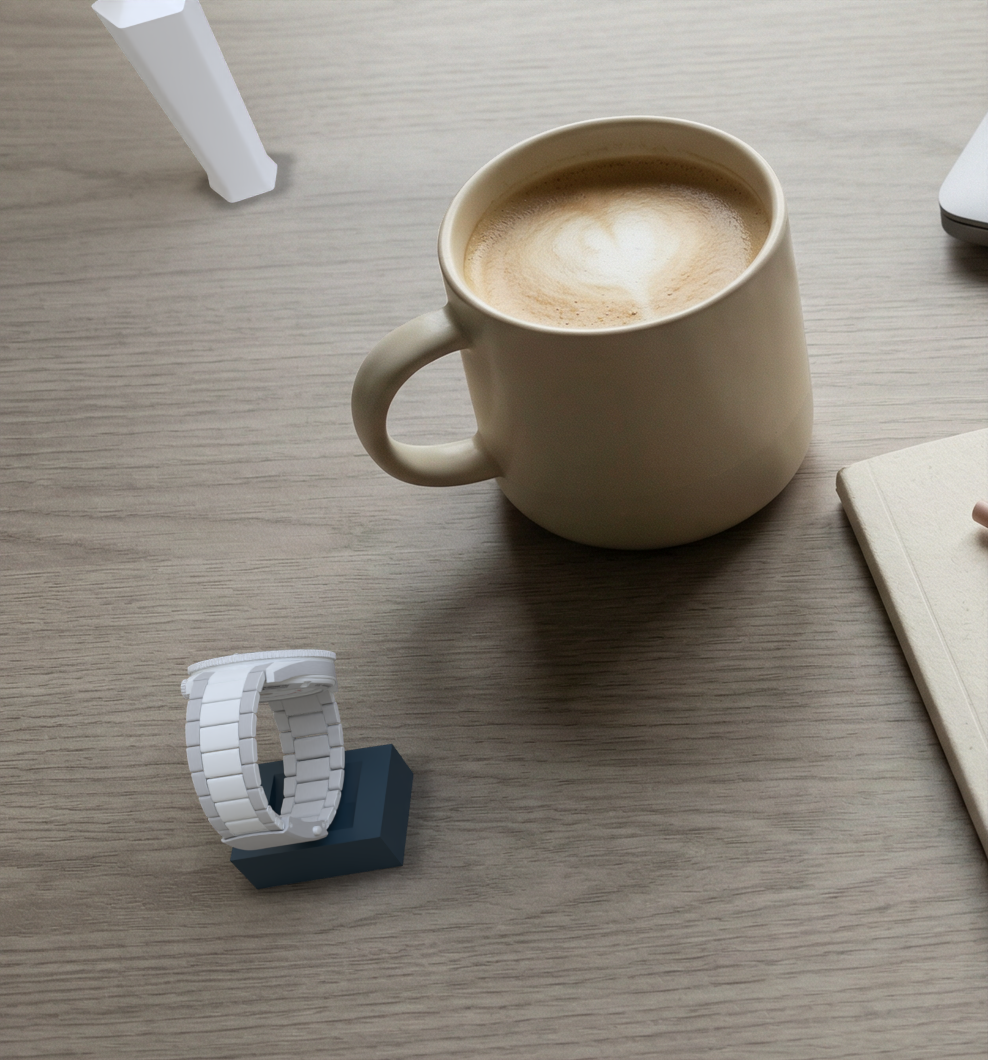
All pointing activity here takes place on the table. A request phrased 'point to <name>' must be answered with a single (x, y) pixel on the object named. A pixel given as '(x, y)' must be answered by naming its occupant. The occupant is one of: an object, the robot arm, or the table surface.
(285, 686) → the watch
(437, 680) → the table surface
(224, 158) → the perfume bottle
